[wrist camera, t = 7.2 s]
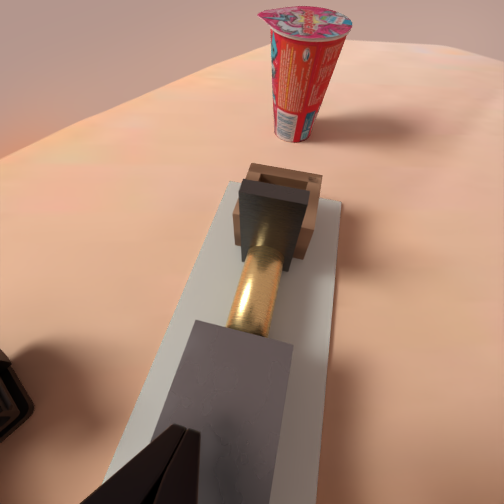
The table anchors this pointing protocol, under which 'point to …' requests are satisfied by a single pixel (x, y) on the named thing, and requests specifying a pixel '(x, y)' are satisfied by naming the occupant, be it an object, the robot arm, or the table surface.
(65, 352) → the table surface
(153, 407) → the board
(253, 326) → the sliding bolt
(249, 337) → the sleeve
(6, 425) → the end cap
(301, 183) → the socket
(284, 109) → the cup
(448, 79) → the table surface
